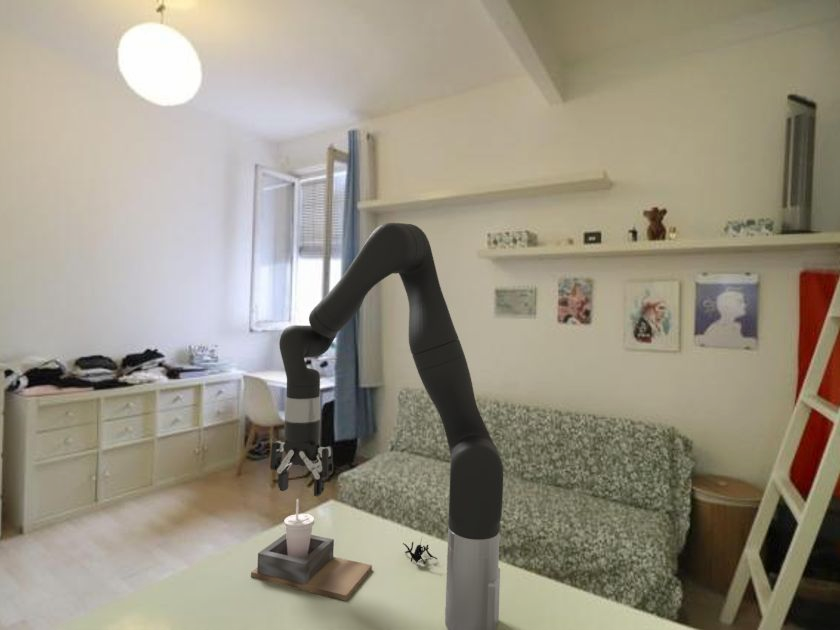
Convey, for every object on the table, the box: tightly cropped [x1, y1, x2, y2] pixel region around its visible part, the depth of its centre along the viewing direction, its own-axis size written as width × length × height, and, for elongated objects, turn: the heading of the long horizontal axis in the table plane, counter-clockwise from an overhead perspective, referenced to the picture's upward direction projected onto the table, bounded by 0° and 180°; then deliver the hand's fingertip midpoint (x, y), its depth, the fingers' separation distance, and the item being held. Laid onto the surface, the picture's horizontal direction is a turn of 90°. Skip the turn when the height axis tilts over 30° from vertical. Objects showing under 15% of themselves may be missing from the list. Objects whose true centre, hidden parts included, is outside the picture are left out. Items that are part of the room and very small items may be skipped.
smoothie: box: [283, 498, 315, 559], centre depth 100 cm, size 6×6×14 cm
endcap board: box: [250, 533, 373, 602], centre depth 98 cm, size 22×12×5 cm, turn 72°
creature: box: [402, 537, 437, 565], centre depth 106 cm, size 8×5×8 cm
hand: (300, 492), depth 100 cm, fingers open, 8 cm apart
